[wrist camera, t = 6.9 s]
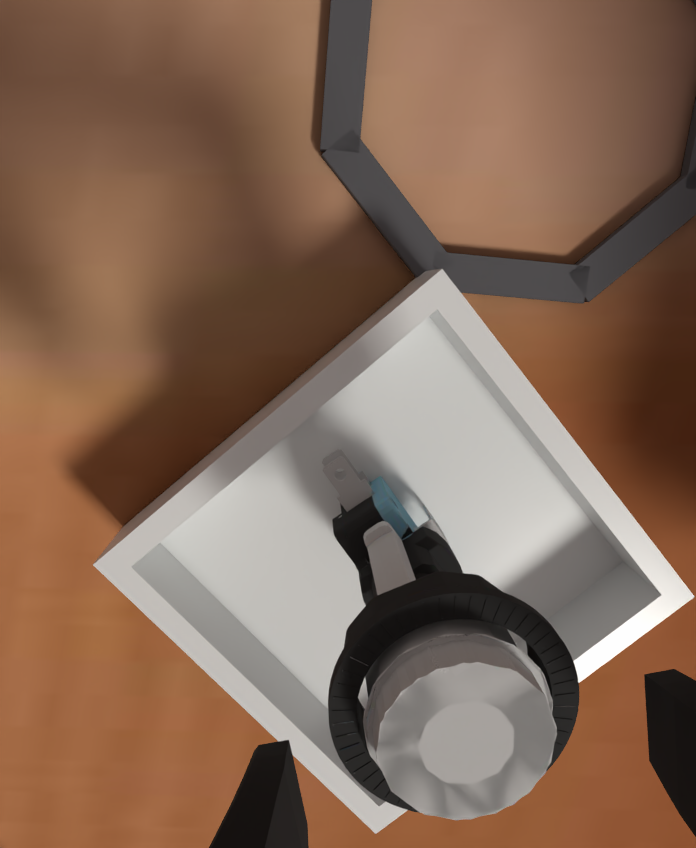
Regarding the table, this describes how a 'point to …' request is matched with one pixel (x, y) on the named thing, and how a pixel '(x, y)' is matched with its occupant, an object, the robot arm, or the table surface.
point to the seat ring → (415, 238)
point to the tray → (414, 487)
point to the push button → (439, 668)
